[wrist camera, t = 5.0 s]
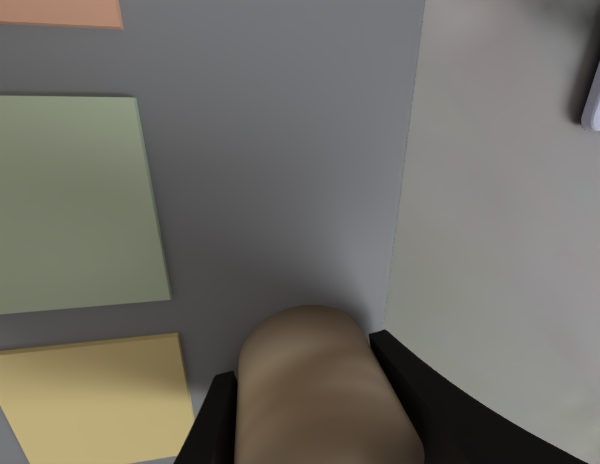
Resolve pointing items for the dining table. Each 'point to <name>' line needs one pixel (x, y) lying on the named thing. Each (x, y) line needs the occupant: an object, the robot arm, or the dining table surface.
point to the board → (184, 200)
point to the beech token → (317, 395)
